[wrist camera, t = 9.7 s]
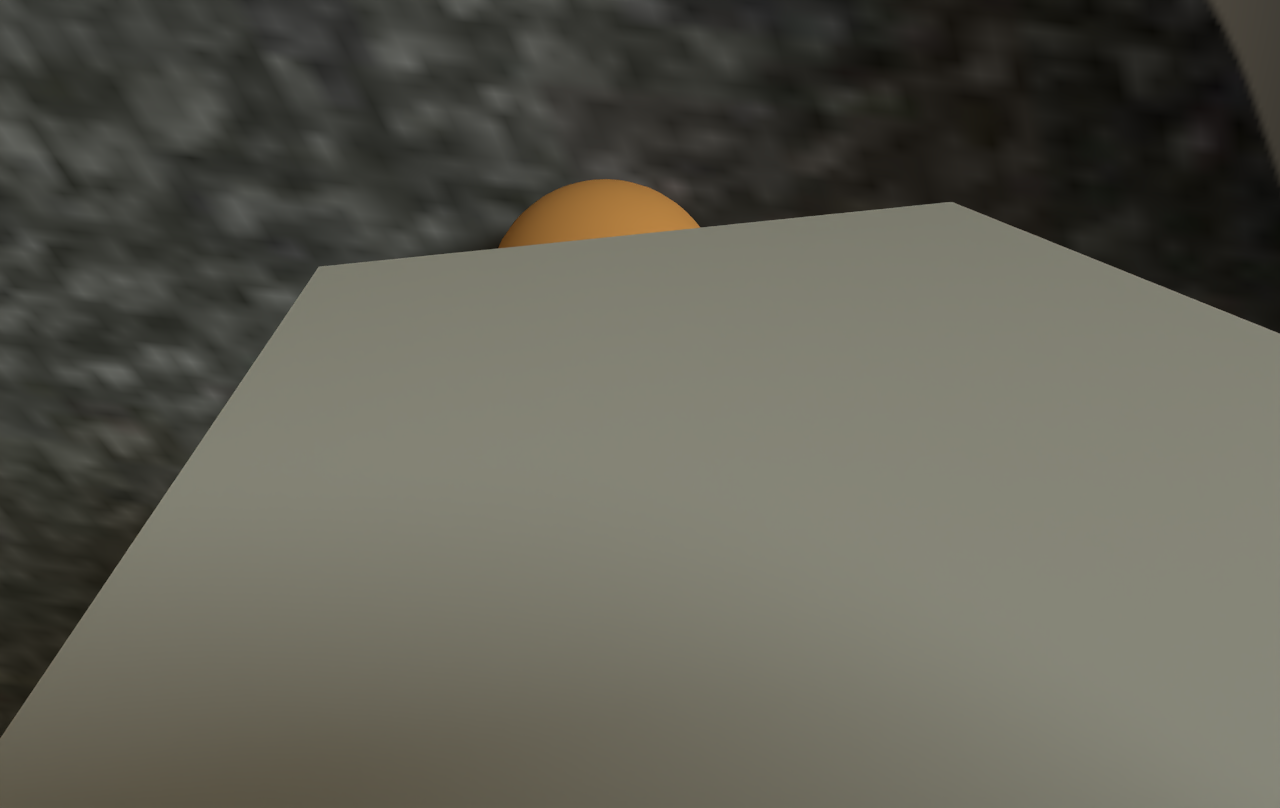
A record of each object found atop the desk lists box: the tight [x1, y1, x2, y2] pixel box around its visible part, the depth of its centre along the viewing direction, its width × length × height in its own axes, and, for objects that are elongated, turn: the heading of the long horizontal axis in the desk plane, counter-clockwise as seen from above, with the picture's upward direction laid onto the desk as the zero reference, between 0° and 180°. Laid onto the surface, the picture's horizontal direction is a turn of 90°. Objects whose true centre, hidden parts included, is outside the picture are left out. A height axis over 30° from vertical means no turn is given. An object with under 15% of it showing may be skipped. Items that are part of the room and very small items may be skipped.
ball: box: [498, 179, 700, 248], centre depth 18 cm, size 5×5×5 cm
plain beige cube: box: [0, 202, 1280, 808], centre depth 8 cm, size 8×8×9 cm
